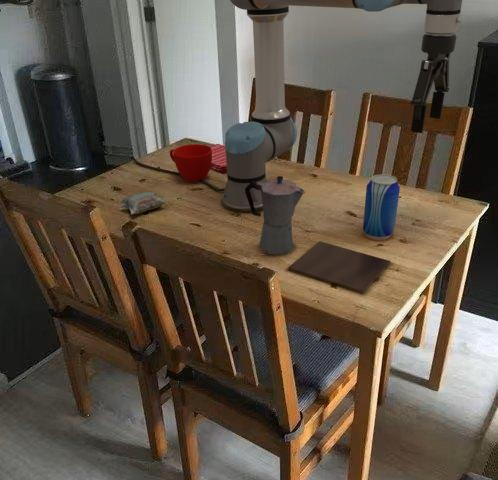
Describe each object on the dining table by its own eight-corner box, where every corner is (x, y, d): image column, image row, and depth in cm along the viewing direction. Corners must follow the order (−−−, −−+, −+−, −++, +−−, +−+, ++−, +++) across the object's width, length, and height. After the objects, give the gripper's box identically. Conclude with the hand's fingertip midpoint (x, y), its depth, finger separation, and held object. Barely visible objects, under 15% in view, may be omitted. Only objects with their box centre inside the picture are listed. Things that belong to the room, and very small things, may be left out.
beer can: (387, 244, 143) (394, 187, 134) (357, 237, 147) (362, 181, 138) (398, 231, 149) (405, 176, 140) (369, 224, 153) (374, 170, 144)
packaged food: (167, 209, 166) (165, 194, 163) (132, 220, 160) (129, 204, 158) (154, 200, 172) (152, 186, 169) (120, 211, 166) (117, 196, 164)
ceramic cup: (184, 167, 196) (182, 140, 191) (221, 176, 187) (219, 147, 182) (160, 178, 187) (156, 150, 182) (197, 188, 179) (194, 159, 173)
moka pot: (301, 258, 138) (303, 185, 127) (242, 254, 141) (239, 182, 130) (305, 240, 146) (307, 170, 135) (250, 237, 149) (247, 167, 138)
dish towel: (224, 174, 189) (223, 167, 187) (184, 158, 204) (183, 151, 202) (260, 161, 198) (260, 154, 196) (219, 147, 213) (219, 140, 211)
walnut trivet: (288, 270, 134) (288, 267, 133) (319, 243, 144) (319, 241, 144) (362, 294, 124) (362, 291, 123) (390, 263, 135) (390, 260, 134)
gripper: (438, 43, 116) (423, 140, 127) (471, 27, 133) (455, 114, 144) (404, 40, 119) (393, 136, 131) (441, 25, 136) (428, 110, 148)
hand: (426, 124), depth 138 cm, fingers open, 13 cm apart
